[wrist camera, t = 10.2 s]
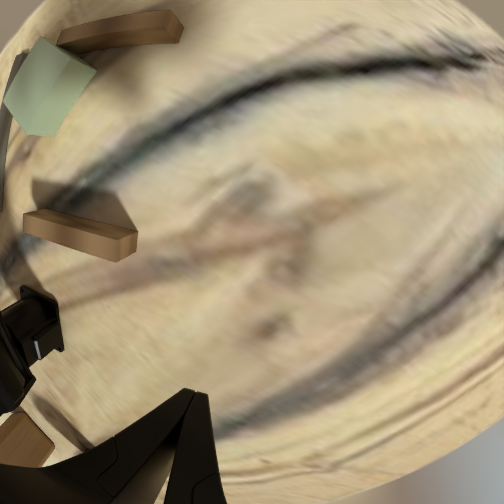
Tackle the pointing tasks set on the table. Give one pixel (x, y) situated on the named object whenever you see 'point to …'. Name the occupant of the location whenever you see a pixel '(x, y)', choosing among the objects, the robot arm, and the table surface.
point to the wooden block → (23, 442)
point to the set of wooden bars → (77, 41)
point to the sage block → (46, 88)
